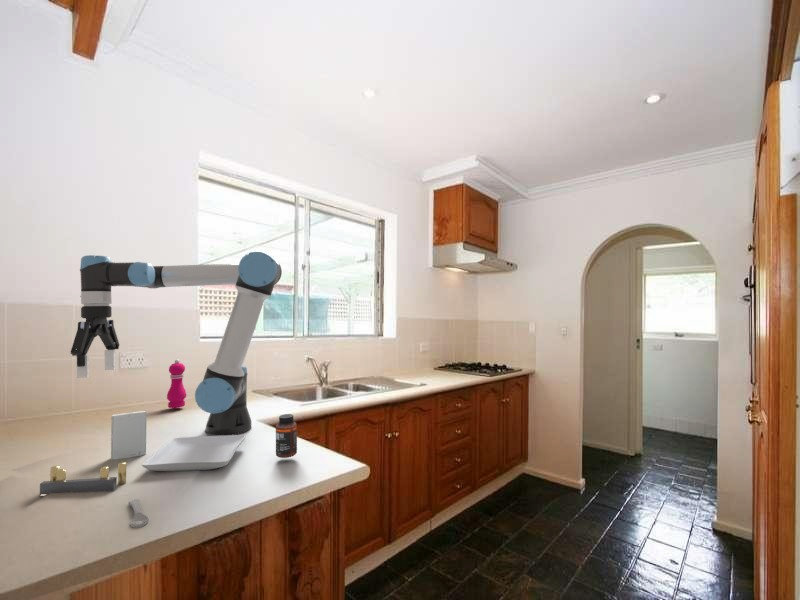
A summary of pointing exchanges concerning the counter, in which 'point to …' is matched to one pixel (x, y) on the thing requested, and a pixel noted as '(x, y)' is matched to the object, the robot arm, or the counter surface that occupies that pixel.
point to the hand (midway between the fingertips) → (97, 373)
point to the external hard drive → (128, 435)
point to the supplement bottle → (286, 436)
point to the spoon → (137, 514)
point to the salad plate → (194, 453)
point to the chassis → (82, 481)
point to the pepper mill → (176, 386)
